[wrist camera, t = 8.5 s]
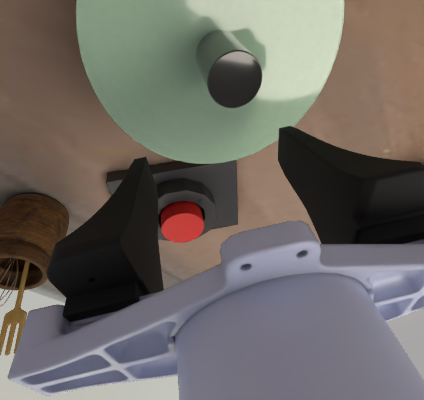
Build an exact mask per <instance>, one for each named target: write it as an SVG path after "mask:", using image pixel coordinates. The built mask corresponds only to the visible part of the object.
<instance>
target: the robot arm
mask: <svg viewBox="0 0 424 400" xmlns="http://www.w3.org/2000/svg"><path fill="white" fill-rule="evenodd" d="M278 161H279V163H280V166H281V168H282V170H283V172H284V174H285V176H286V178H287V179H288V181H289V182H290V184H291V186H292V187H293V189H294V190H295V192H296V193H297V195H298V196H299V198H300V200H301V201H302V203H303V204H304V206H305V208H306V210H307V212H308V214H309V216H310V218H311V220H312V222H313V225H314V227H315V229H316V231H317V234H318V236H319V238H320V241H321V243H322V244H319V242H318V240H317V239H316V237H315V235H314V234H313V232H312V230H311V228H310V227H309V225H308V224H306V223H304V222H302V221H287V222H283V223H279V224H274V225H270V226H266V227H261V228H257V229H252V230H248V231H244V232H239V233H237V234H235V235H232V236H230V237H229V238H228V239H227V240H226V241H225V242H224V243H222V245H221V249H220V255H221V264H219V265H217V266H215V267H213V268H210V269H208V270H206V271H204V272H202V273H200V274H197V275H195V276H193V277H191V278H189V279H186V280H184V281H182V282H180V283H178V284H176V285H173V286H171V287H169V288H167V289H165V290H164V288H163V281H162V273H161V264H160V255H159V245H158V206H159V202H158V193H157V186H156V183H155V181H154V178H153V175H152V172H151V170H150V167H149V164H148V161H147V159H146V157H143V158H139V159H134V161H133V163H132V164H131V166H130V168H129V170H128V172H127V173H126V175H125V177H124V178H123V180H122V182H121V183H120V185H119V186H118V188H117V189H116V191H115V192H114V193H113V195H112V196H111V197H110V199H109V200H108V201H107V202H106V203H105V204H104V205H103V207H102V208H101V209H100V210H99V211H98V212H96V213H95V214H94V215H93V216H92V217H91V218H90V219H89V220H88V221H87V222H85V223H84V224H83V225H82V226H80V227H79V228H78V229H77V230H75V231H74V232H72V233H71V234H70V235H68V236H66V237H65V238H63V239H62V240H60V241H59V242H57V243H56V244H55V246H54V249H53V252H52V255H51V258H50V262H49V265H48V269H47V272H46V274H47V278H48V279H49V281H50V282H51V283H52V284H53V285H54V286H55V287H56V288H57V289H58V290H59V291H60V292H61V293H62V294H63V295H64V296H65V297H66V302H65V306H63V305H52V306H48V307H44V308H39V309H36V310H31V311H29V313H28V316H27V319H26V322H25V325H24V328H23V331H22V334H21V337H20V340H19V343H18V347H17V350H16V353H15V356H14V359H13V362H12V365H11V368H10V371H9V374H8V379H9V380H11V381H13V382H16V383H18V384H20V385H23V386H25V387H27V388H30V389H32V390H34V391H36V392H39V393H41V394H43V395H46V396H50V395H54V394H58V393H63V392H68V391H72V390H78V389H83V388H89V387H95V386H102V385H108V384H116V383H124V382H131V381H139V380H147V379H155V378H163V377H170V376H178V385H179V399H180V400H424V380H423V378H422V377H421V375H420V374H419V372H418V371H417V369H416V367H415V366H414V364H413V363H412V361H411V360H410V358H409V356H408V355H407V353H406V352H405V350H404V349H403V347H402V346H401V344H400V342H399V341H398V339H397V338H396V336H395V335H394V333H393V332H392V330H391V328H390V327H389V325H388V324H387V321H390V320H393V319H395V318H398V317H401V316H404V315H406V314H409V313H412V312H415V311H418V310H420V309H423V308H424V165H422V164H421V163H420V162H413V161H400V160H391V159H383V158H377V157H372V156H367V155H363V154H358V153H355V152H351V151H348V150H345V149H341V148H339V147H336V146H333V145H331V144H328V143H326V142H324V141H321V140H319V139H317V138H315V137H313V136H311V135H309V134H307V133H305V132H303V131H301V130H299V129H297V128H294V127H292V126H287V127H282V128H279V144H278Z"/></svg>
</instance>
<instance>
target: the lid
mask: <svg viewBox="0 0 424 400" xmlns="http://www.w3.org/2000/svg"><path fill="white" fill-rule="evenodd" d="M344 9H345V0H76V28H77V38H78V43H79V49H80V54H81V58H82V61H83V65H84V68H85V71H86V74H87V77H88V79H89V81H90V83H91V86H92V88H93V90H94V92H95V94H96V96H97V97H98V99H99V101H100V102H101V104H102V106H103V107H104V109H105V110H106V111H107V113H108V114H109V115H110V116H111V118H112V119H113V120H114V121H115V122H116V123H117V124H118V126H119V127H120V128H121V129H122V130H123V131H124V132H125V133H127V134H128V135H129V136H130V137H132V138H133V139H134V140H135V141H136V142H138V143H140V144H141V145H143V146H144V147H146V148H147V149H149V150H151V151H153V152H155V153H157V154H160V155H162V156H165V157H168V158H170V159H173V160H178V161H182V162H187V163H196V164H215V163H223V162H228V161H233V160H237V159H240V158H243V157H246V156H249V155H251V154H253V153H256V152H258V151H260V150H262V149H264V148H265V147H267V146H269V145H270V144H272V143H274V142H275V141H276V140H278V139H279V128H282V127H287V126H292V127H293V126H294V125H296V123H297V122H298V121H299V120H300V119H301V118H302V117H303V116H304V115H305V113H306V112H307V111H308V110H309V108H310V107H311V106H312V104H313V103H314V102H315V100H316V98H317V97H318V95H319V93H320V92H321V90H322V88H323V87H324V85H325V82H326V80H327V78H328V76H329V74H330V72H331V69H332V67H333V64H334V61H335V59H336V56H337V52H338V48H339V44H340V40H341V36H342V29H343V23H344Z"/></svg>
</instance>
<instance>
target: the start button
mask: <svg viewBox="0 0 424 400" xmlns="http://www.w3.org/2000/svg"><path fill="white" fill-rule="evenodd" d="M203 229H204V222H203V217H202V213H201V209H200V208H199V207H198V205H196V204H195V203H193V202H189V201H179V202H173V203H171V204H169V205H167V206H166V207H165V208H164V209H163V211H162V213H161V230H162V234H163V235H164V237H165V238H167V239H168V240H170V241H173V242H188V241H191V240H193V239H195V238H197V237H198V236H199V235H200V234H201V233H202V232H203Z"/></svg>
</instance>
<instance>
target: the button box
mask: <svg viewBox="0 0 424 400" xmlns="http://www.w3.org/2000/svg"><path fill="white" fill-rule="evenodd" d="M149 167H150V170H151V172H152V175H153V178H154V181H155V183H156V186H157V193H158V202H159V206H158V239H162V240H168V239H167V238H165V237H164V235H163V234H162V230H161V213H162V211H163V209H164V208H165V207H166V206H167V205H169V204H171V203H173V202H179V201H189V202H193V203H195V204H196V205H198V207H199V208H200V209H201V213H202V217H203V222H204V229H203V232H202V233H201V234H200V235H199V236H201V235H203V234H204V233H206V232H208V231H209V230H211V229H216V228H222V227H227V226H232V225H238V205H237V168H236V160H233V161H228V162H223V163H215V164H196V163H187V162H182V161H177V162H171V163H165V164H159V165H153V166H149ZM127 172H128V170H124V171H118V172H112V173H107V179H106V184H107V186H108V188H109V190H110V193H111V195H113V193H114V192H115V191H116V189H117V188H118V186H119V185H120V183H121V182H122V180H123V178H124V177H125V175H126V173H127ZM199 236H198V237H199ZM198 237H197V238H198ZM195 239H196V238H195ZM168 241H170V240H168Z"/></svg>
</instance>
